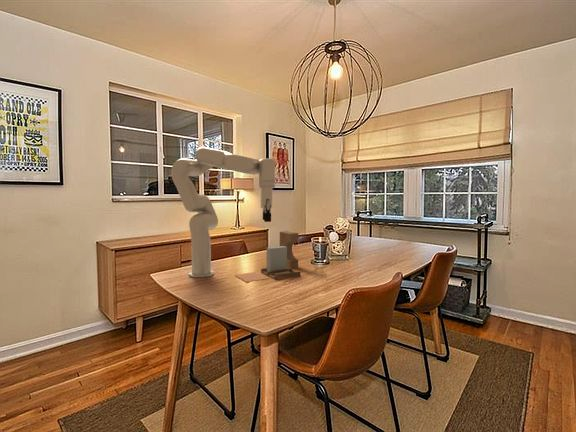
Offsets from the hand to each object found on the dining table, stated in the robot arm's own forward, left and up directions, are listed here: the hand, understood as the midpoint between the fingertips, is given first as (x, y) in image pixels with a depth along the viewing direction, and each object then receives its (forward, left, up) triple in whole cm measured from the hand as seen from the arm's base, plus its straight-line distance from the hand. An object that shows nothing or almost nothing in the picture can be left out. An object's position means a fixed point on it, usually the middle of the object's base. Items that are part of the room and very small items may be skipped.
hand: (266, 220), depth 153 cm
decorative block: (-18, +24, -29) cm, 42 cm away
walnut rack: (-5, +11, -29) cm, 31 cm away
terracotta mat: (-8, -4, -29) cm, 31 cm away
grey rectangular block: (-9, +11, -29) cm, 32 cm away
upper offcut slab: (-1, +11, -29) cm, 31 cm away
